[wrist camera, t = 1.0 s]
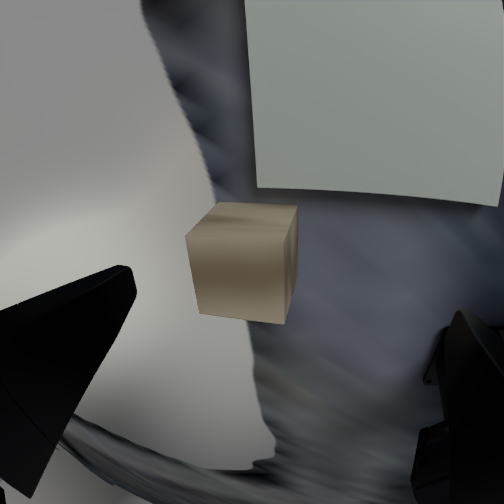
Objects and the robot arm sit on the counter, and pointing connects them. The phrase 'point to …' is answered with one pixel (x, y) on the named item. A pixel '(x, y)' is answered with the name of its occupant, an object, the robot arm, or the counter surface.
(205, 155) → the counter surface
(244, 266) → the beech brick
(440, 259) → the counter surface
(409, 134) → the baseplate
